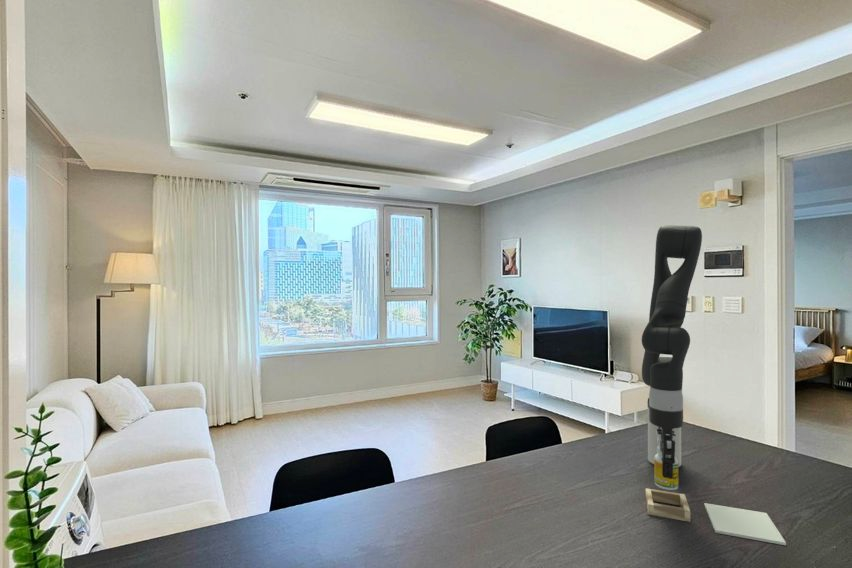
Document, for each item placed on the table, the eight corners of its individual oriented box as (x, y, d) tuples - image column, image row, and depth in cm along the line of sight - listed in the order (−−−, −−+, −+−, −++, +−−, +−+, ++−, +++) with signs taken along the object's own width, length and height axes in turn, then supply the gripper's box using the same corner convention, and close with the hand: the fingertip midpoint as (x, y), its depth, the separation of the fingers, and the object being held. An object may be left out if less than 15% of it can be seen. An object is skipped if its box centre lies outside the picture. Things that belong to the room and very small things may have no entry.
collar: (645, 497, 116) (645, 488, 116) (684, 503, 113) (684, 494, 113) (648, 514, 108) (648, 504, 108) (690, 521, 104) (690, 511, 104)
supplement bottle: (661, 478, 114) (661, 442, 114) (682, 486, 110) (682, 448, 110) (650, 484, 111) (649, 446, 111) (671, 493, 107) (671, 453, 107)
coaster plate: (704, 505, 112) (704, 503, 112) (766, 515, 107) (766, 513, 107) (715, 532, 100) (715, 530, 100) (786, 545, 95) (786, 542, 95)
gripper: (687, 415, 102) (687, 487, 102) (678, 399, 115) (679, 463, 116) (651, 412, 105) (651, 482, 105) (647, 396, 118) (647, 458, 119)
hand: (666, 471), depth 110 cm, fingers closed on supplement bottle, 5 cm apart
